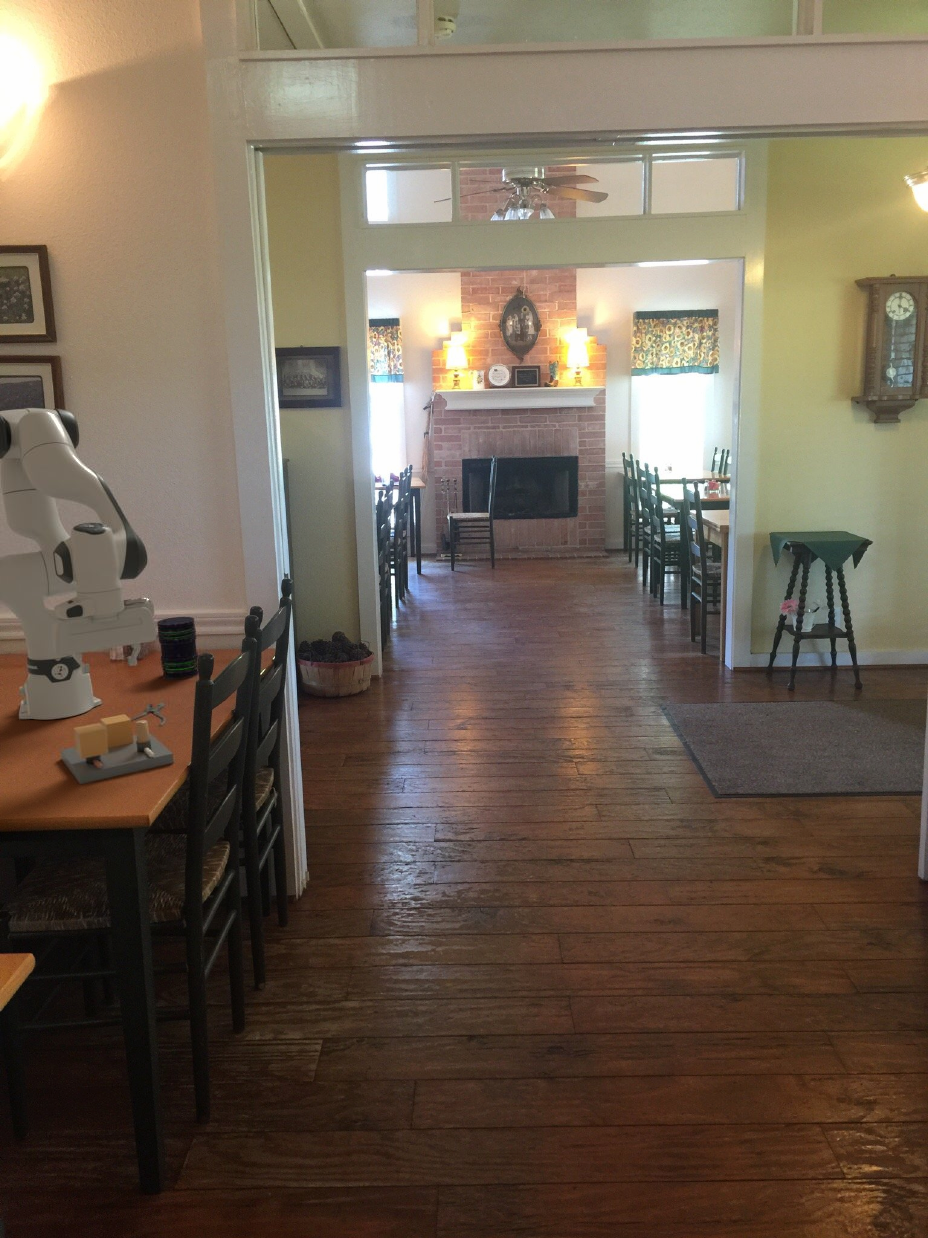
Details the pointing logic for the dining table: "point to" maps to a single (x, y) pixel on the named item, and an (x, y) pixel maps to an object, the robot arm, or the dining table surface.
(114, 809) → the dining table surface
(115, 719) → the tan wooden toy brick
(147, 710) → the pliers
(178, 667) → the storage jar
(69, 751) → the board
